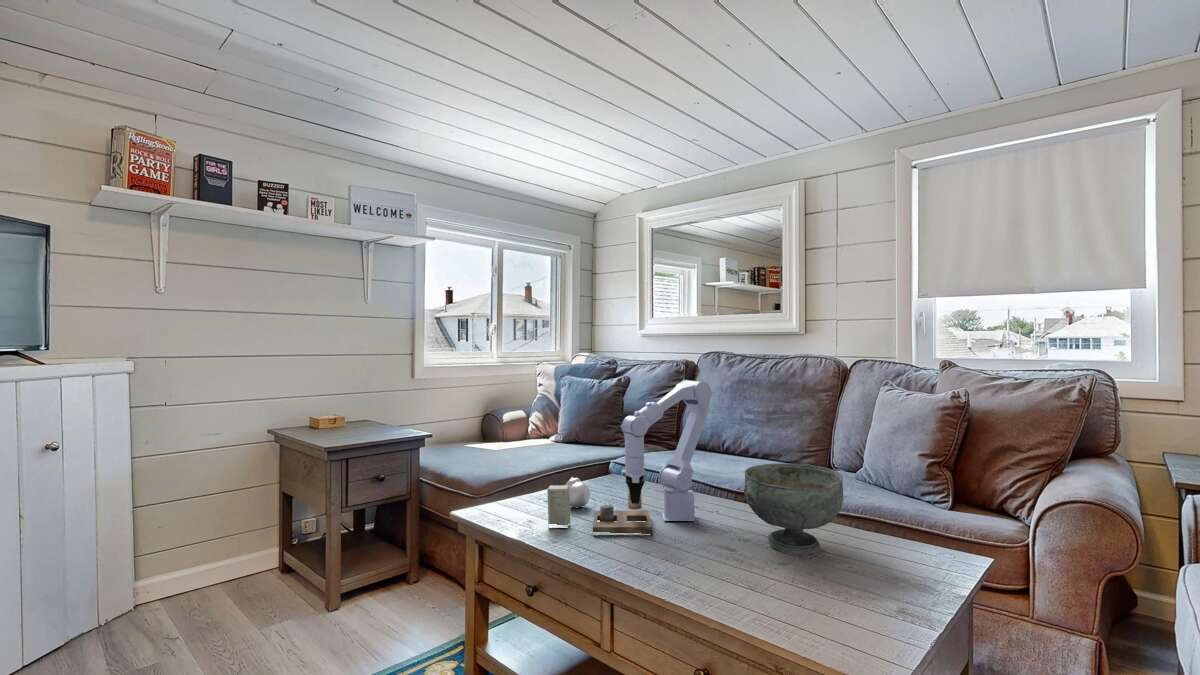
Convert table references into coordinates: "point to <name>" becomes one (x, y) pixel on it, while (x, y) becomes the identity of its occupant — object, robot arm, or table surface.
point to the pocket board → (621, 521)
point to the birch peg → (633, 506)
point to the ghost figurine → (578, 492)
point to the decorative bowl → (794, 502)
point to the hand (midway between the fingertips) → (635, 501)
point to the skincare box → (558, 504)
